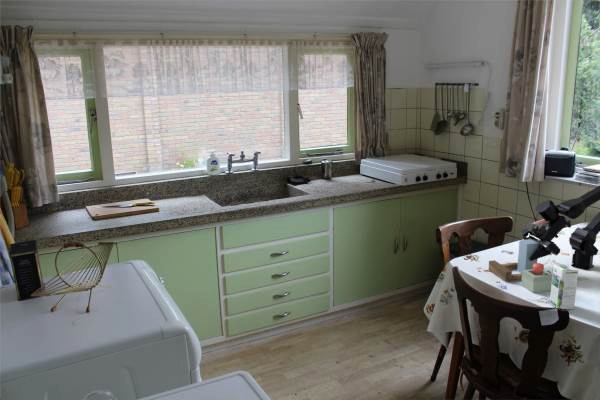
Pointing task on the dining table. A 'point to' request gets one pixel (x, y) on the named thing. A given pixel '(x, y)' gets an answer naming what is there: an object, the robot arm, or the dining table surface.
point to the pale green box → (536, 281)
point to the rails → (515, 266)
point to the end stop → (500, 271)
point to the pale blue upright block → (526, 254)
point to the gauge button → (538, 268)
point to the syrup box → (563, 286)
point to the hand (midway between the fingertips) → (524, 257)
